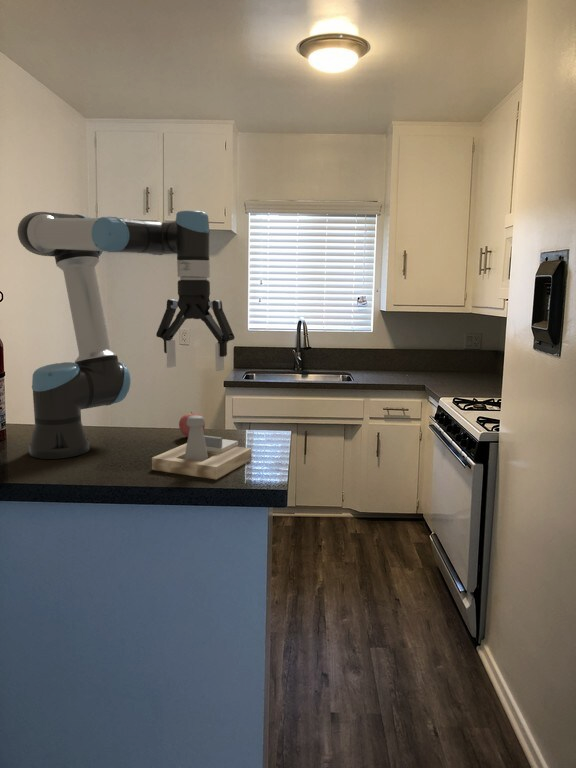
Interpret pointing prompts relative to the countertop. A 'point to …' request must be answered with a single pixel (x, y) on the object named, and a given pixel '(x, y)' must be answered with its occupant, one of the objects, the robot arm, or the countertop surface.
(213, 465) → the socket board
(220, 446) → the shutter
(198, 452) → the salt shaker
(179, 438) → the countertop surface
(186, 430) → the apple
